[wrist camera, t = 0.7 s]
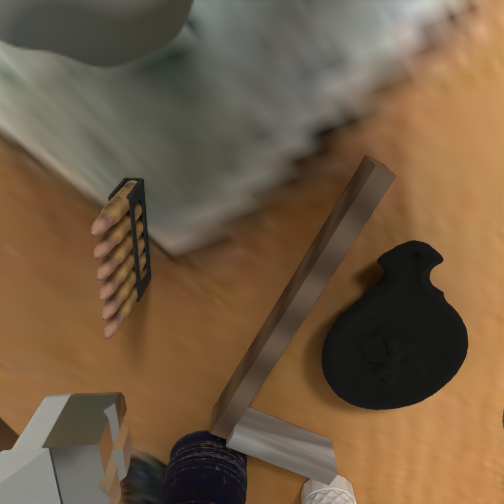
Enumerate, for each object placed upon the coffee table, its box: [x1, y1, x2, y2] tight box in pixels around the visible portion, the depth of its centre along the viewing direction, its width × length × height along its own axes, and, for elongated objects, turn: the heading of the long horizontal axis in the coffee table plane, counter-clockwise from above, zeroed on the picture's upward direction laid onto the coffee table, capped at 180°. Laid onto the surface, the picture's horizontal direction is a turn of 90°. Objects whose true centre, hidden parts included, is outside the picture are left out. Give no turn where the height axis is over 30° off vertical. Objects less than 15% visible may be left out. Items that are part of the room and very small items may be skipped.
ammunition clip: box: [91, 178, 151, 339], centre depth 40 cm, size 11×2×12 cm, turn 179°
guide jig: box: [210, 155, 396, 485], centre depth 48 cm, size 34×15×5 cm, turn 153°
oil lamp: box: [322, 240, 468, 410], centre depth 47 cm, size 15×20×5 cm
